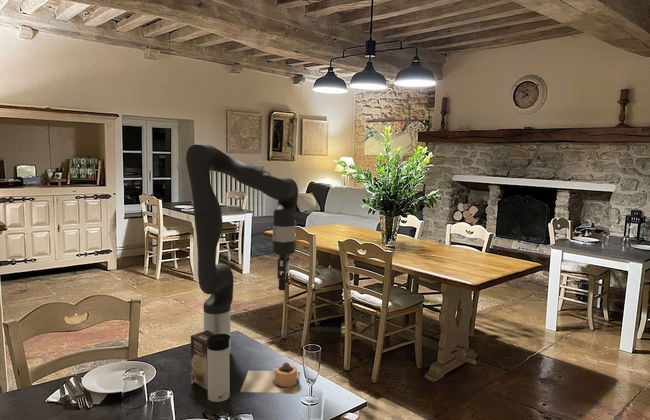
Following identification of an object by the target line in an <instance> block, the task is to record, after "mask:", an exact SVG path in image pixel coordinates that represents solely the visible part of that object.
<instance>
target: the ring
mask: <svg viewBox="0 0 650 420" xmlns="http://www.w3.org/2000/svg"><path fill="white" fill-rule="evenodd" d="M282 365H283V364H281V365H278V366H275V370H274V371H275V383H276V384H277V385H279V386H287V387H290V386H292V385H294V384H296V380H297V372H298V368H297V367H296V366H294V365H293V364H289V365H290V372H289V373H285V372H282Z"/></svg>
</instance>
